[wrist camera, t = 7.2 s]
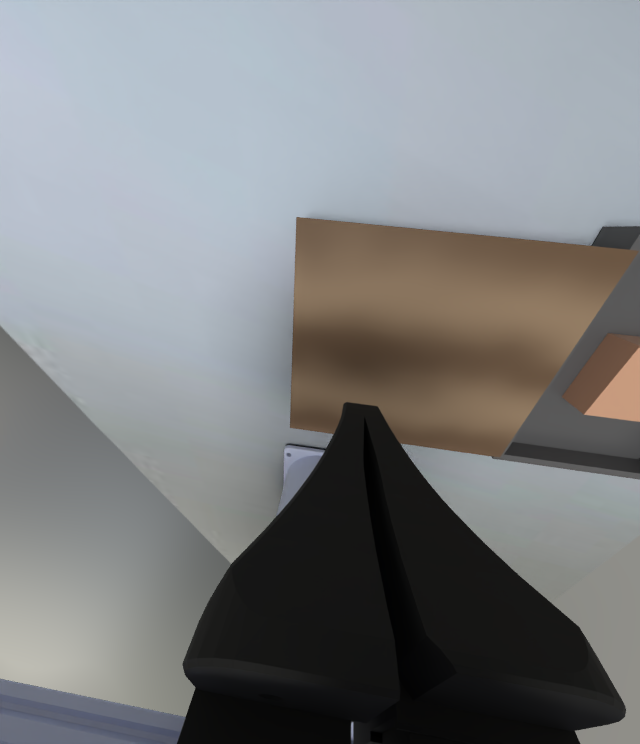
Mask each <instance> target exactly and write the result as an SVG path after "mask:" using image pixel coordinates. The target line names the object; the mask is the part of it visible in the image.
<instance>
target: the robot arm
mask: <svg viewBox="0 0 640 744" xmlns="http://www.w3.org/2000/svg"><path fill="white" fill-rule="evenodd" d="M289 453H290V454H289ZM183 669H184V673H185V675H186V677H187V678H188V679H189V680H190V681H191V682H192V684H193V685H194V686H195V687H196V688H195V691H194V694H193V697H192V701H191V703H190V706H189V709H188V712H187V715H186V717H183V716H178V715H173V714H169V713H164V712H159V711H154V710H149V709H144V708H139V707H135V706H130V705H125V704H120V703H115V702H110V701H106V700H101V699H96V698H91V697H86V696H81V695H76V694H72V693H67V692H62V691H57V690H52V689H47V688H42V687H38V686H33V685H28V684H23V683H18V682H13V681H9V680H4V679H0V744H580V742H579V740H578V738H577V735H576V733H575V730H581V729H586V728H591V727H597V726H603V725H608V724H612V723H615V722H619V721H620V720H622V719H623V718H624V717H625V713H626V709H625V705H624V703H623V701H622V699H621V697H620V696H619V694H618V692H617V691H616V689H615V687H614V685H613V683H612V682H611V680H610V678H609V677H608V675H607V673H606V671H605V670H604V668H603V666H602V664H601V663H600V661H599V659H598V657H597V656H596V654H595V652H594V651H593V649H592V647H591V646H590V644H589V642H588V641H587V639H586V637H585V636H584V634H583V633H582V631H581V629H580V628H579V627H578V626H577V625H576V624H575V623H574V622H573V621H571V620H570V619H569V618H568V617H567V616H565V615H564V614H563V613H562V612H561V611H560V610H559V609H557V608H556V607H555V606H554V605H553V604H552V603H550V602H549V601H548V600H547V599H546V598H545V597H543V596H542V595H541V594H540V593H539V592H538V591H536V590H535V589H534V588H533V587H532V586H531V585H529V584H528V583H527V582H526V581H525V580H524V579H522V578H521V577H520V576H519V575H518V574H517V573H516V572H515V571H514V570H512V569H511V568H510V567H509V566H508V565H507V564H506V563H505V562H504V561H503V560H502V559H501V558H500V557H499V556H497V555H496V554H495V553H494V552H493V551H492V550H491V549H490V548H489V547H488V546H487V545H486V544H485V543H484V542H483V541H482V540H481V539H480V538H479V537H478V536H477V535H476V534H475V533H474V532H473V531H472V530H471V529H470V528H469V527H468V526H467V525H466V524H465V523H464V522H463V521H462V520H461V519H460V518H459V517H458V516H457V515H456V514H455V513H454V512H453V511H452V510H451V508H450V507H449V506H448V505H447V504H446V503H445V502H444V501H443V500H442V499H441V497H440V496H439V495H438V494H437V493H436V491H435V490H434V489H433V488H432V487H431V485H430V484H429V483H428V482H427V480H426V479H425V478H424V477H423V475H422V474H421V473H420V471H419V470H418V469H417V467H416V466H415V465H414V463H413V462H412V461H411V459H410V458H409V456H408V455H407V453H406V452H405V451H404V449H403V447H402V446H401V444H400V443H399V441H398V440H397V438H396V437H395V435H394V433H393V432H392V430H391V428H390V427H389V425H388V423H387V422H386V420H385V418H384V416H383V414H382V413H381V411H380V409H379V408H378V406H373V405H365V404H358V403H350V402H346V403H344V404H343V409H342V415H341V418H340V421H339V424H338V426H337V428H336V430H335V433H334V435H333V437H332V439H331V441H330V443H329V444H328V446H327V448H326V450H320V449H313V448H306V447H299V446H292V445H287V446H285V449H284V488H283V492H282V496H281V499H280V503H279V507H278V511H277V515H276V518H275V519H274V520H273V521H272V522H271V523H270V525H269V526H268V527H267V528H266V529H265V530H264V531H263V532H262V533H261V534H260V535H259V536H258V537H257V538H256V539H255V540H254V541H253V542H252V543H251V544H250V545H249V546H248V547H247V548H246V550H245V551H244V552H243V553H242V554H241V555H240V556H239V557H238V558H237V559H236V560H235V561H234V562H233V563H232V564H231V565H230V567H229V569H228V570H227V572H226V573H225V575H224V577H223V578H222V580H221V581H220V583H219V585H218V586H217V588H216V590H215V592H214V593H213V595H212V597H211V598H210V600H209V602H208V604H207V606H206V608H205V610H204V612H203V614H202V617H201V619H200V620H199V623H198V625H197V628H196V630H195V633H194V636H193V639H192V641H191V643H190V646H189V648H188V651H187V654H186V656H185V659H184V661H183Z"/></svg>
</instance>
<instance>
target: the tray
mask: <svg viewBox="0 0 640 744" xmlns="http://www.w3.org/2000/svg"><path fill="white" fill-rule="evenodd" d="M592 246H596V247H606V248H616V249H627V250H637V251H639V252H638V254H637V255H636V257H635V258H634V259H633V261H632V262H631V264H630V265H629V267H628V268H627V270H626V271H625V273H624V274H623V276H622V277H621V279H620V280H619V282H618V283H617V285H616V286H615V288H614V289H613V291H612V292H611V294H610V295H609V297H608V298H607V299H606V301H605V302H604V304H603V305H602V307H601V308H600V310H599V311H598V313H597V314H596V316H595V317H594V319H593V320H592V322H591V323H590V325H589V326H588V328H587V329H586V331H585V332H584V334H583V335H582V337H581V338H580V339H579V341H578V342H577V344H576V345H575V347H574V348H573V350H572V351H571V353H570V354H569V356H568V357H567V359H566V360H565V362H564V363H563V365H562V366H561V368H560V369H559V371H558V372H557V374H556V375H555V376H554V378H553V379H552V381H551V382H550V384H549V385H548V387H547V388H546V390H545V391H544V393H543V394H542V396H541V397H540V399H539V400H538V402H537V403H536V405H535V406H534V408H533V409H532V411H531V412H530V414H529V415H528V416H527V418H526V419H525V421H524V422H523V424H522V425H521V427H520V428H519V430H518V431H517V433H516V434H515V436H514V437H513V439H512V440H511V442H510V443H509V445H508V446H507V448H506V449H505V451H504V452H503V454H502V455H501V456H500V457H493V456H492V458H493V459H500V460H507V461H514V462H521V463H528V464H535V465H542V466H549V467H556V468H563V469H570V470H577V471H584V472H591V473H598V474H605V475H612V476H619V477H626V478H633V479H640V422H637V421H629V420H622V419H614V418H606V417H598V416H591V415H584V414H583V413H581V412H580V411H579V410H577V409H576V408H575V407H574V406H572V405H571V404H570V403H569V402H567V401H566V400H565V399H564V398H562V396H563V394H564V393H565V392H566V390H567V389H568V388H569V386H570V385H571V383H572V382H573V381H574V379H575V378H576V377H577V375H578V374H579V372H580V371H581V370H582V368H583V367H584V366H585V364H586V363H587V361H588V360H589V359H590V357H591V356H592V355H593V353H594V352H595V350H596V349H597V348H598V346H599V345H600V344H601V342H602V341H603V339H604V338H605V337H606V335H607V334H608V333H612V334H621V335H630V336H638V337H640V226H634V227H603V228H602V230H601V231H600V233H599V235H598V237H597V238H596V240H595V242H594V243H593V245H592Z"/></svg>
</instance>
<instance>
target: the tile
mask: <svg viewBox="0 0 640 744" xmlns="http://www.w3.org/2000/svg"><path fill="white" fill-rule="evenodd" d="M562 398H564V399H565V400H566V401H567V402H569V403H570V404H571V405H572V406H574V407H575V408H576V409H577V410H579V411H580V412H581V413H583V414H584V415H591V416H598V417H606V418H614V419H622V420H629V421H637V422H640V337H638V336H630V335H621V334H612V333H608V334H607V335H606V337H605V338H604V339H603V341H602V342H601V344H600V345H599V346H598V348H597V349H596V350H595V352H594V353H593V355H592V356H591V357H590V359H589V360H588V361H587V363H586V364H585V366H584V367H583V368H582V370H581V371H580V372H579V374H578V375H577V377H576V378H575V379H574V381H573V382H572V383H571V385H570V386H569V388H568V389H567V390H566V392H565V393H564V394H563V396H562Z"/></svg>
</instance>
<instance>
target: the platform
mask: <svg viewBox="0 0 640 744" xmlns="http://www.w3.org/2000/svg"><path fill="white" fill-rule="evenodd" d="M638 252H639V251H637V250H627V249H616V248H606V247H596V246H586V245H576V244H565V243H555V242H545V241H535V240H525V239H514V238H504V237H494V236H484V235H474V234H463V233H453V232H443V231H433V230H423V229H412V228H402V227H392V226H382V225H372V224H361V223H351V222H341V221H331V220H321V219H310V218H300V217H297V220H296V252H295V284H294V317H293V349H292V381H291V413H290V428H296V429H303V430H310V431H317V432H324V433H331V434H334V433H335V430H336V428H337V426H338V424H339V421H340V418H341V415H342V409H343V404H344V403H346V402H350V403H358V404H365V405H373V406H378V408H379V409H380V411H381V413H382V414H383V416H384V418H385V420H386V422H387V423H388V425H389V427H390V428H391V430H392V432H393V433H394V435H395V437H396V438H397V440H398V441H399V443H402V444H409V445H416V446H423V447H430V448H437V449H444V450H451V451H458V452H465V453H472V454H479V455H486V456H493V457H500V456H501V455H502V454H503V452H504V451H505V449H506V448H507V446H508V445H509V443H510V442H511V440H512V439H513V437H514V436H515V434H516V433H517V431H518V430H519V428H520V427H521V425H522V424H523V422H524V421H525V419H526V418H527V416H528V415H529V414H530V412H531V411H532V409H533V408H534V406H535V405H536V403H537V402H538V400H539V399H540V397H541V396H542V394H543V393H544V391H545V390H546V388H547V387H548V385H549V384H550V382H551V381H552V379H553V378H554V376H555V375H556V374H557V372H558V371H559V369H560V368H561V366H562V365H563V363H564V362H565V360H566V359H567V357H568V356H569V354H570V353H571V351H572V350H573V348H574V347H575V345H576V344H577V342H578V341H579V339H580V338H581V337H582V335H583V334H584V332H585V331H586V329H587V328H588V326H589V325H590V323H591V322H592V320H593V319H594V317H595V316H596V314H597V313H598V311H599V310H600V308H601V307H602V305H603V304H604V302H605V301H606V299H607V298H608V297H609V295H610V294H611V292H612V291H613V289H614V288H615V286H616V285H617V283H618V282H619V280H620V279H621V277H622V276H623V274H624V273H625V271H626V270H627V268H628V267H629V265H630V264H631V262H632V261H633V259H634V258H635V257H636V255H637V254H638Z"/></svg>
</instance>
